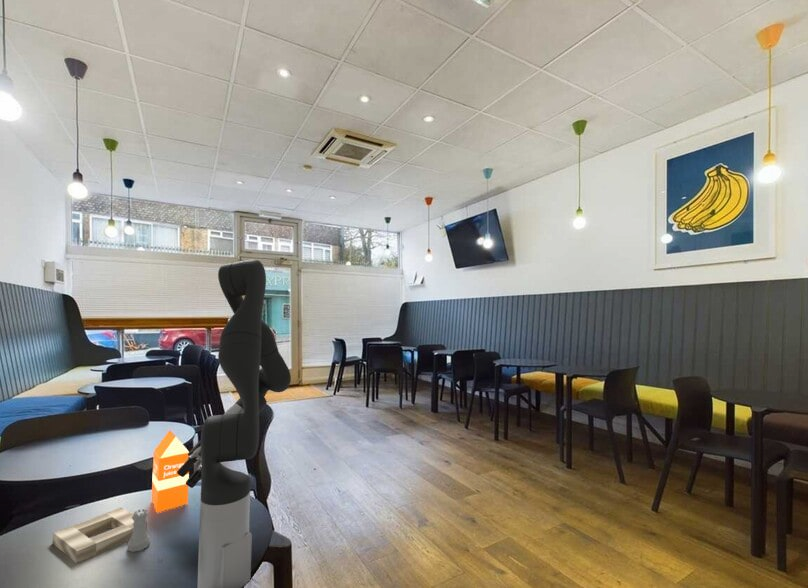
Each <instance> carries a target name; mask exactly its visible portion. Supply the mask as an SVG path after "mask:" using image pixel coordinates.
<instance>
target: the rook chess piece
mask: <svg viewBox="0 0 808 588" xmlns="http://www.w3.org/2000/svg"><path fill="white" fill-rule="evenodd" d="M133 514H134V515H133V516H132V519H133V520H134V523H133V533H132V536H131V538H130V540H128V541H127V545H128V546H127V547H126V549H127V551H129V552H130V551H131V552H130V553H136V552H135V551H137V552H140V551H139V550H141V551H143V550H145V549H147V547H148V546H149V545H150V543H151V540H150V539H151V536H150V535H149V533H148V530H147V531H146V522H147V523H148V521H147V517H148V516H149V512H148V509H145V508H142V510H141V509H138V510H135V511H134V512H133ZM144 548H145V549H144ZM142 549H143V550H142Z"/></svg>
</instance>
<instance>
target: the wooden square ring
mask: <svg viewBox="0 0 808 588" xmlns="http://www.w3.org/2000/svg"><path fill="white" fill-rule="evenodd" d="M133 515H134V513H132V512H130V511H128V510H126V509H124V508H123V507H119V508H116V509H114V510H111V511H108V512H106V513H103V514H100V515H97V516H94V517H92V518H89V519H87V520H83V521H81V522H78V523H75V524H73V525H70V526H67V527H64V528H62V529H60V530H59V529H58V530H56V531H53V532H52V544H53V545H54V546H55V547H56V548H57V549H59V550H60V551H61V552H62V553H63V554H65V555H66V556H67V557H68V558H69V559H70V560H72V561H73V562H74V563H75V564H77V563H80V562H83V561H85V560H87V559H89V558H91V557H94V556H96V555H99V554H101V553H103V552H107V550H110V549H112V548H115V547H117V546H119V545H122V544H124V543H126V542H129V540H130V538H131V536H132V533H133V523H134V520H133V519H132V516H133ZM110 528H112V529H110ZM108 529H110V530H108ZM105 530H108V531H105ZM102 531H105V532H103V533H100V532H102ZM146 531H147V532H148V521H147V522H146ZM98 533H100V534H98ZM96 534H97V535H96ZM92 535H96V536H92ZM89 536H92V537H89Z"/></svg>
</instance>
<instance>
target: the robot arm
mask: <svg viewBox="0 0 808 588" xmlns="http://www.w3.org/2000/svg"><path fill="white" fill-rule="evenodd" d="M217 275H218V276H217V277H218V282H219V286H220V289H221V291H222V293H223V295H224V297H225V300H226V301H227V303H228V305H229V307H230V309H231V311H232V313H233V315H232V316H231V317H230V319H229V320H228V321H227V322H226V324H225V325H224V327H223V329H222V331H221V334H220V338H219V345H218V355H217V358H218V362H219V365H220V369H222V371H223V373H224V374H225V376H226V377H227V379H228V380H229V381H230V383H231V384H232V385H233V387H234V388H235V391H236V392H237V394H238V396H239V398H238V399H237V400H236V402H235V403H234V404H233V405H232V406H230V407H229V408H228V409H227V410H226V411H225V413H223V414H217V415H216V414H215V415H210V416H208V417H206V419H205V420H204V422H203V424H202V427H201V433H200V434H201V435H200V440H199V441H198V442H197V443H196V444H195V445H194V446H193V447H192V449H190V451H189V453H188V456H189V457H188V458H187V459H188V460H187V461H186V462H185V463H184V464H183V465H182V466H181V468H180V469H179V470H178V471H177V474H178V475H180V476H181V477H184V476H185V475H186V474H187V473H188V472H189V473H190V471H191V470H192V468H193V467H194V466H195V465H196V464H198V463H199V462H200V463H199V465H198V467H197V469H195V471H194V472H193V473H192V474H191V475H189V479H188V480H187V481H186V485H188V488H191V489H192V488H194V487H195V486H196V485H197V484H198V483H199V481H201V482H200V504H199V505H200V507H199V508H200V509H199V529H198V531H199V532H198V533H199V534H198V557H197V560H198V561H197V586H196V587H197V588H243V587H244V586H246V585H247V584H249V583H251V579H250V578H252V577H251V575H252V573H251V572H252V541H253V540H252V539H253V537H252V536H253V534H252V533H251V532H250V505H251V479H250V476H249V475H247V474H246V473H245V472H242V471H238V470H234V469H231V468H229V467H226V466H224V465H223V464H222V463H225V462H226V463H227V462H235V461H245V460H250V459H253V458H254V457H255V456H256V454H257V452H258V448H259V443H260V413H261V412H262V411H263V410H264V408H265V407H266V406H267V399H266V394H267V393H268V391H269V390H270V391H272V392H274V393H283V392H285V391H286V390H287V389H289V386H290V385H291V381H292V380H291V379H292V375H291V372H290V369H289V367H288V366H287V363H286V362H285V360H284V358H283V356H282V355H281V353H280V351H279V347H278V345H277V342H276V338H275V335H274V333H273V331H272V329H271V328H270V326H268V324H267V323H266V322H265V321H264V320H262V319H263V308H264V300H265V293H266V288H267V287H266V286H267V284H266V283H267V276H266V275H267V274H266V269H265V267H264V264H263V263H262V262H261V261H260V260H258V259H246V260H240V261H235V262H231V263H226V264H222V265H221V266H220V267H219V269H218V273H217ZM243 296H244V298H243ZM248 581H249V582H248ZM247 582H248V583H247Z"/></svg>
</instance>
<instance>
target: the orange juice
mask: <svg viewBox="0 0 808 588" xmlns="http://www.w3.org/2000/svg"><path fill="white" fill-rule="evenodd" d="M189 452H190V451H189V450H188V449H187V447H186V446H185V445H184V444H183V443H182V442H181V441H180V440H179V438H178V437H177V436H176V435H175V434H174V433H173V432H172V431H171V430H170V429H169V430H168V432H166V434H165V435H164V437H163V438H162V440H161V441H160V442H159V444H158V445H157V446H156V448H155V449H154V450H153V459H152V462H153V463H152V476H151V478H152V483H151V485H152V486H151V503H152V502H153V504H154V506H153V508H154V507H155V508H154V510H155V509H156V510H155V513H156V512H157V513H156V514H159V513H158V512H160V513H162V512H161V511H164V510H167V509H171V508H174V507H178V506H181V505H184V504H188V505H189V502H188V499H189V486H188V485H186V481H187V480H188V479H189V478H190V471H189V472H188V473H187V474H186V475H185V476H184V477H181V476H180V475H178V474H177V471H178V470H179V469H180V468H181V466H182V465H183V464H184V463H185V462H186V461H187V460H188V459H187V458H188V457H189V456H188V453H189ZM153 504H152V505H153ZM181 507H182V506H181ZM178 508H179V507H178ZM174 509H175V508H174ZM171 510H172V509H171ZM167 511H168V510H167ZM164 512H165V511H164Z"/></svg>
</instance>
